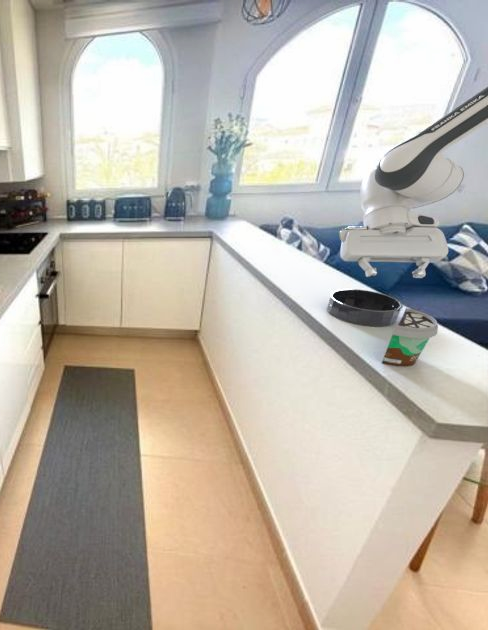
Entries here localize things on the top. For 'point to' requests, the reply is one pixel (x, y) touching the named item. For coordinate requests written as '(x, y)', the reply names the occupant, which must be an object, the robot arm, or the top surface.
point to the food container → (410, 338)
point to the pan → (364, 307)
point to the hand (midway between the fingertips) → (395, 276)
